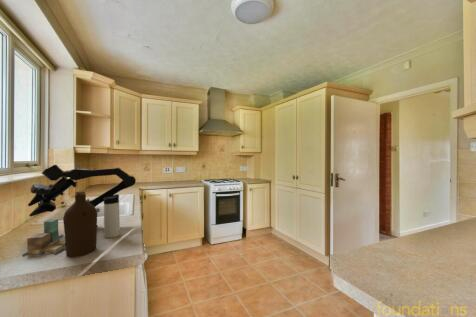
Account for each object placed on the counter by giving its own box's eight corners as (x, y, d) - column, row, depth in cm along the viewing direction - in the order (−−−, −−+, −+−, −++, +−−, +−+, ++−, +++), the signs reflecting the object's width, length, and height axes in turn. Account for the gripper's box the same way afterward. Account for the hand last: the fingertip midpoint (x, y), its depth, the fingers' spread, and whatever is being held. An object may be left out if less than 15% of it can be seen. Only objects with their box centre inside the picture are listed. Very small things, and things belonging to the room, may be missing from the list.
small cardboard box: (62, 248, 83) (62, 245, 83) (56, 252, 79) (56, 249, 79) (51, 249, 82) (51, 245, 82) (44, 253, 79) (44, 249, 79)
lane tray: (88, 237, 97) (88, 233, 97) (55, 256, 78) (55, 252, 78) (61, 238, 96) (61, 234, 96) (22, 258, 77) (22, 253, 77)
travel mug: (123, 235, 98) (122, 194, 98) (109, 240, 92) (108, 197, 92) (115, 233, 101) (114, 193, 101) (101, 238, 95) (100, 196, 95)
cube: (50, 244, 84) (50, 232, 84) (42, 249, 79) (41, 237, 79) (36, 245, 83) (36, 233, 83) (27, 250, 78) (27, 238, 78)
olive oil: (104, 248, 84) (103, 189, 84) (80, 262, 74) (79, 194, 74) (82, 247, 86) (81, 189, 86) (56, 259, 76) (54, 193, 75)
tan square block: (73, 242, 88) (73, 239, 88) (66, 246, 84) (66, 243, 84) (63, 243, 88) (63, 239, 88) (55, 247, 84) (55, 243, 84)
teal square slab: (59, 242, 89) (59, 219, 88) (38, 253, 79) (37, 227, 78) (49, 243, 88) (49, 219, 88) (27, 254, 78) (26, 227, 78)
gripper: (42, 170, 103) (10, 193, 98) (46, 188, 92) (11, 214, 87) (62, 182, 111) (34, 203, 106) (68, 199, 100) (37, 224, 95)
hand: (29, 210), depth 98 cm, fingers open, 9 cm apart
